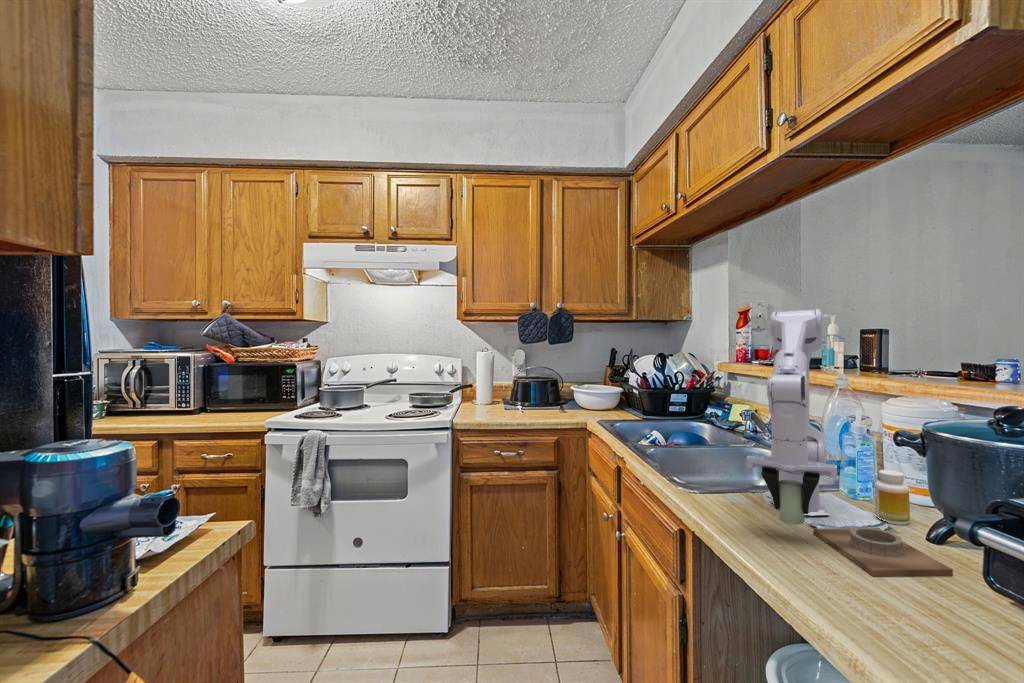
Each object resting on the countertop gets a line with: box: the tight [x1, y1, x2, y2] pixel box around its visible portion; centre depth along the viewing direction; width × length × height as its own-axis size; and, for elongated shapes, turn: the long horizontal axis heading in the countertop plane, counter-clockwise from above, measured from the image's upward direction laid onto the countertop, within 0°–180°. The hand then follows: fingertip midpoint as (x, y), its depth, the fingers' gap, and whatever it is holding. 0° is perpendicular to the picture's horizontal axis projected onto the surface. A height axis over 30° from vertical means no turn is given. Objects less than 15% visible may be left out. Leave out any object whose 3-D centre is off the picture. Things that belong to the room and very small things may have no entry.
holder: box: [812, 526, 954, 578], centre depth 82 cm, size 16×12×3 cm
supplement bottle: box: [874, 469, 911, 526], centre depth 95 cm, size 5×5×10 cm
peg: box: [778, 480, 805, 525], centre depth 88 cm, size 4×4×7 cm
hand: (791, 509), depth 88 cm, fingers closed on peg, 4 cm apart
